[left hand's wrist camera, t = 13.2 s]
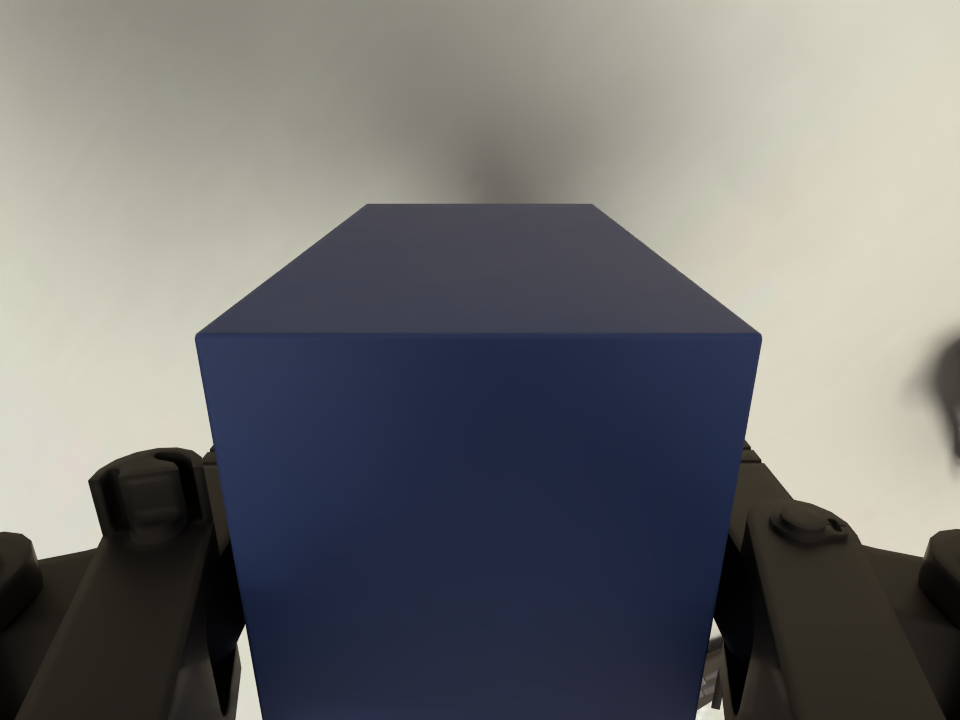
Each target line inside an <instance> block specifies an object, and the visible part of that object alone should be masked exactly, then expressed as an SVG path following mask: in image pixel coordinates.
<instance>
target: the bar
mask: <svg viewBox="0 0 960 720" xmlns="http://www.w3.org/2000/svg"><path fill="white" fill-rule="evenodd" d="M195 343H196V348H197V354H198V360H199V365H200V371H201V377H202V382H203V388H204V393H205V399H206V405H207V410H208V416H209V422H210V427H211V433H212V438H213V444H214V450H215V455H216V461H217V466H218V472H219V478H220V483H221V489H222V495H223V500H224V506H225V511H226V517H227V523H228V528H229V534H230V540H231V545H232V551H233V556H234V562H235V568H236V573H237V579H238V585H239V590H240V596H241V601H242V607H243V613H244V618H245V624H246V630H247V635H248V641H249V646H250V652H251V658H252V663H253V669H254V675H255V680H256V686H257V691H258V697H259V703H260V708H261V714H262V719H263V720H695V718H696V713H697V707H698V701H699V696H700V690H701V684H702V679H703V673H704V667H705V661H706V656H707V650H708V644H709V639H710V633H711V627H712V622H713V616H714V610H715V605H716V599H717V593H718V588H719V582H720V576H721V571H722V565H723V559H724V553H725V548H726V542H727V536H728V531H729V525H730V519H731V514H732V508H733V502H734V497H735V491H736V485H737V480H738V474H739V468H740V463H741V457H742V451H743V445H744V440H745V434H746V428H747V423H748V417H749V411H750V406H751V400H752V394H753V389H754V383H755V377H756V372H757V366H758V360H759V355H760V349H761V343H762V336H761V334H760V333H759V332H758V331H756V330H755V329H754V328H752V327H751V326H750V325H748V324H747V323H746V322H745V321H743V320H742V319H741V318H739V317H738V316H737V315H735V314H734V313H733V312H732V311H730V310H729V309H728V308H726V307H725V306H724V305H723V304H721V303H720V302H719V301H717V300H716V299H715V298H713V297H712V296H711V295H710V294H708V293H707V292H706V291H704V290H703V289H702V288H700V287H699V286H698V285H697V284H695V283H694V282H693V281H691V280H690V279H689V278H687V277H686V276H685V275H684V274H682V273H681V272H680V271H678V270H677V269H676V268H674V267H673V266H672V265H671V264H669V263H668V262H667V261H665V260H664V259H663V258H662V257H660V256H659V255H658V254H656V253H655V252H654V251H652V250H651V249H650V248H649V247H647V246H646V245H645V244H643V243H642V242H641V241H639V240H638V239H637V238H636V237H634V236H633V235H632V234H630V233H629V232H628V231H626V230H625V229H624V228H623V227H621V226H620V225H619V224H617V223H616V222H615V221H613V220H612V219H611V218H610V217H608V216H607V215H606V214H604V213H603V212H602V211H601V210H599V209H598V208H597V207H595V206H594V205H593V204H367V205H365V206H364V207H362V208H361V209H360V210H359V211H357V212H356V213H355V214H353V215H352V216H351V217H349V218H348V219H347V220H345V221H344V222H343V223H341V224H340V225H339V226H338V227H336V228H335V229H334V230H332V231H331V232H330V233H328V234H327V235H326V236H324V237H323V238H322V239H320V240H319V241H318V242H316V243H315V244H314V245H313V246H311V247H310V248H309V249H307V250H306V251H305V252H303V253H302V254H301V255H299V256H298V257H297V258H295V259H294V260H293V261H292V262H290V263H289V264H288V265H286V266H285V267H284V268H282V269H281V270H280V271H278V272H277V273H276V274H274V275H273V276H272V277H270V278H269V279H268V280H267V281H265V282H264V283H263V284H261V285H260V286H259V287H257V288H256V289H255V290H253V291H252V292H251V293H249V294H248V295H247V296H245V297H244V298H243V299H242V300H240V301H239V302H238V303H236V304H235V305H234V306H232V307H231V308H230V309H228V310H227V311H226V312H224V313H223V314H222V315H221V316H219V317H218V318H217V319H215V320H214V321H213V322H211V323H210V324H209V325H207V326H206V327H205V328H203V329H202V330H201V331H199V332H198V333H197V334H196V336H195Z"/></svg>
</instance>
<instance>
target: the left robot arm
mask: <svg viewBox="0 0 960 720" xmlns="http://www.w3.org/2000/svg"><path fill="white" fill-rule="evenodd" d="M88 483H89V486H90V490H91V494H92V497H93V501H94V505H95V508H96V512H97V516H98V520H99V523H100V527H101V531H102V534H103V537H102V539H101V541H100V543H99V545H98V547H97V548H95V549H91V550H87V551H82V552H77V553H72V554H67V555H62V556H57V557H52V558H47V559H41V560H37V557H36V554H35V551H34V548H33V544H32V541H31V540H29V539H28V538H27V537H25V536H24V535H23V534H18V533H11V532H0V720H235V718H236V709H237V701H238V692H239V683H240V675H241V664H240V657H239V652H238V646H237V641H238V639H239V637H240V635H241V632H242V630H243V628H244V626H245V618H244V613H243V607H242V601H241V596H240V590H239V585H238V579H237V573H236V568H235V562H234V556H233V551H232V545H231V540H230V534H229V528H228V523H227V517H226V511H225V506H224V500H223V495H222V489H221V483H220V478H219V472H218V466H217V461H216V455H215V450H214V445H213V446H212V447H211V449H210V452H207V454H206V455H205V456H204V457H203V458H202V457H201V456H199V455H198V454H197V453H195V452H194V451H192V450H187V449H182V448H156V449H151V450H146V451H141V452H136V453H133V454H130V455H128V456H125V457H122V458H119V459H117V460H115V461H113V462H111V463H109V464H108V465H106V466H104V467H102V468H101V469H99V470H98V471H97V472H96V473H95V474H94V475H93V476H92V477H91V478H90V479H89V480H88ZM713 617H714V620H715V622H716V624H717V626H718V628H719V630H720V633H721V635H722V637H723V639H724V641H723V646H722V652H721V657H720V662H719V667H718V673H717V678H716V683H715V688H714V694H713V700H712V706H711V708H714V709H719V710H720V705H721V700H722V699H723V708H724V716H725V720H960V529H953V530H945V531H939V532H938V533H936V534H935V535H934V536H932V537H931V538H930V540H929V543H928V546H927V549H926V552H925V555H924V558H923V557H918V556H913V555H908V554H902V553H897V552H892V551H887V550H882V549H877V548H873V547H869V546H865V545H862V544H861V542H860V540H859V538H858V536H857V534H856V533H855V532H854V531H853V530H852V528H851V527H850V526H849V525H848V523H846V522H845V521H844V520H842V519H841V518H839V517H838V516H836V515H835V514H833V513H832V512H830V511H827V510H825V509H823V508H820V507H818V506H816V505H813V504H810V503H806V502H802V501H797V500H794V499H793V498H792V497H791V496H790V494H789V493H788V492H787V491H786V490H785V488H784V487H783V486H782V485H781V483H780V482H779V481H778V480H777V479H776V477H775V476H774V475H773V474H772V472H771V471H770V470H769V469H768V467H767V466H766V465H765V464H764V463H761V459H760V458H759V456H758V455H757V454H756V453H755V452H754V450H751V447H750V445H749V444H748V443H747V442H746V441H745V440H744V445H743V451H742V457H741V463H740V468H739V474H738V480H737V485H736V491H735V497H734V502H733V508H732V514H731V519H730V525H729V531H728V536H727V542H726V548H725V553H724V559H723V565H722V571H721V576H720V582H719V588H718V593H717V599H716V605H715V610H714V616H713Z"/></svg>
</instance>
